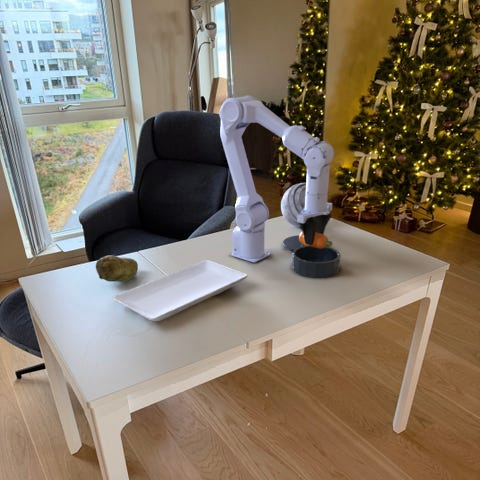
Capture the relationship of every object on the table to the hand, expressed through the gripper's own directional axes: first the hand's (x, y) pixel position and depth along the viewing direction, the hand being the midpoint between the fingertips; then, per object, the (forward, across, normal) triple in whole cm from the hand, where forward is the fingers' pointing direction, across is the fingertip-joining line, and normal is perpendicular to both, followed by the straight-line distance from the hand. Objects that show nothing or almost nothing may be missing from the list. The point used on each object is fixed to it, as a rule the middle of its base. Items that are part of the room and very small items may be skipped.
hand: (313, 241), depth 123 cm
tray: (+8, -35, +16) cm, 39 cm away
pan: (+8, +1, -1) cm, 9 cm away
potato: (+8, -39, +37) cm, 55 cm away
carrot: (+1, 0, 0) cm, 1 cm away
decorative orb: (+8, +30, +24) cm, 39 cm away
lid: (+8, +14, +11) cm, 20 cm away
